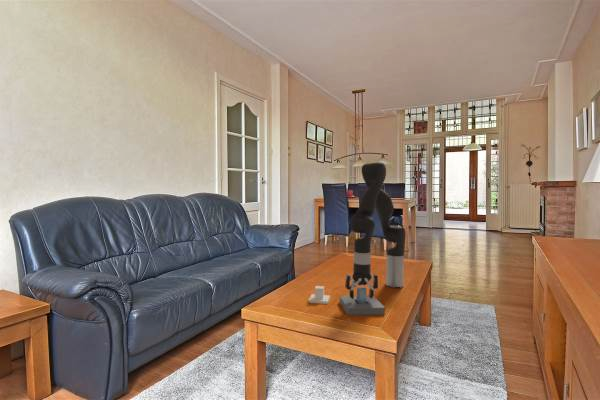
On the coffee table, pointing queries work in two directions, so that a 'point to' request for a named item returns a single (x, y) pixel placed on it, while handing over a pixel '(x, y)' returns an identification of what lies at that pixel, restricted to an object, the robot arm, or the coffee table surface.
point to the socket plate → (362, 306)
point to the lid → (319, 296)
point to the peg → (361, 295)
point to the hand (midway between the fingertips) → (361, 298)
